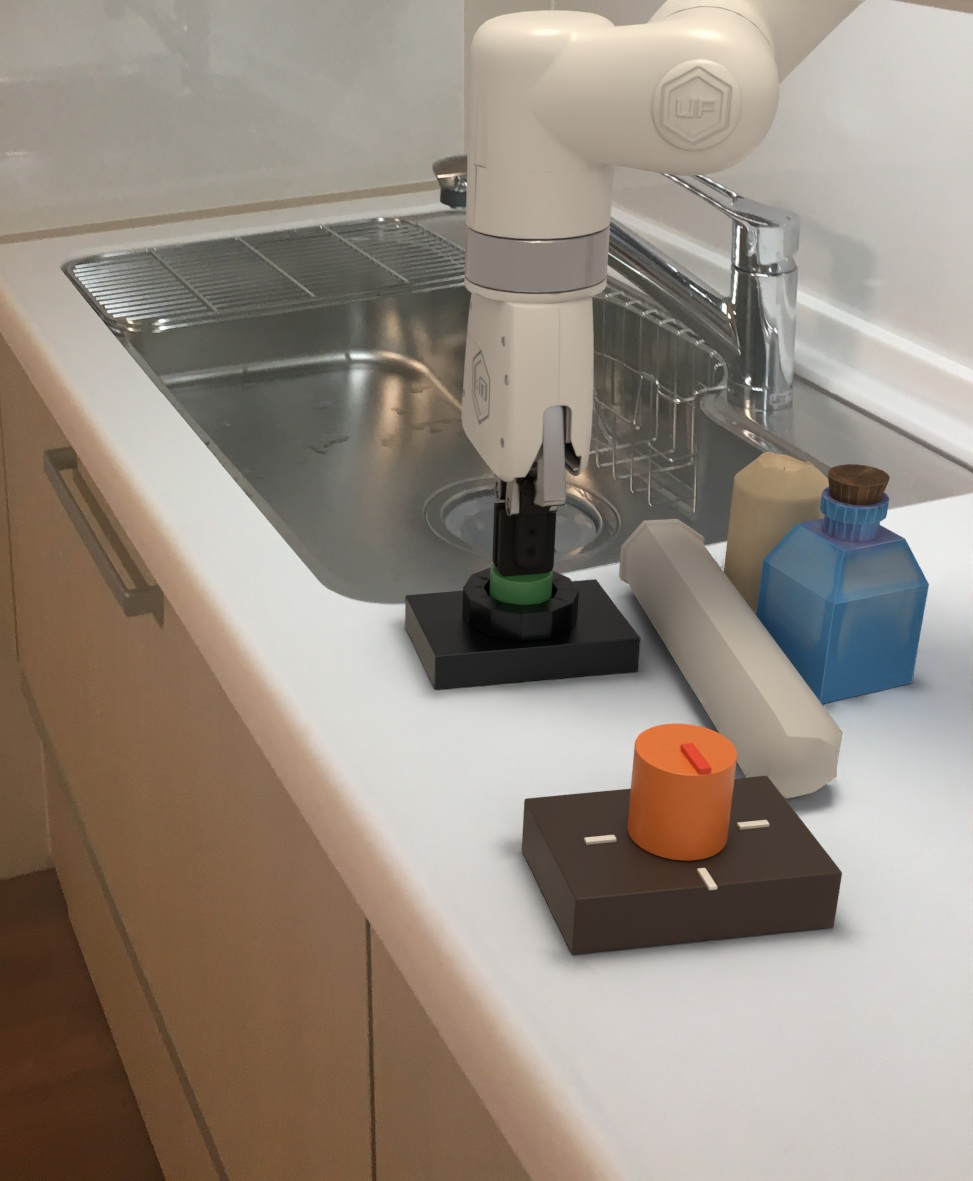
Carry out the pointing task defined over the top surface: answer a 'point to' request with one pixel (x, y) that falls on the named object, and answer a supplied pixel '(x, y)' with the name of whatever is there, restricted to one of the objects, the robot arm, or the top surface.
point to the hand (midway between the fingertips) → (522, 568)
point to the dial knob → (681, 791)
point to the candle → (767, 514)
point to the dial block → (677, 873)
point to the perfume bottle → (846, 592)
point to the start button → (520, 587)
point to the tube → (731, 659)
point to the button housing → (519, 634)
